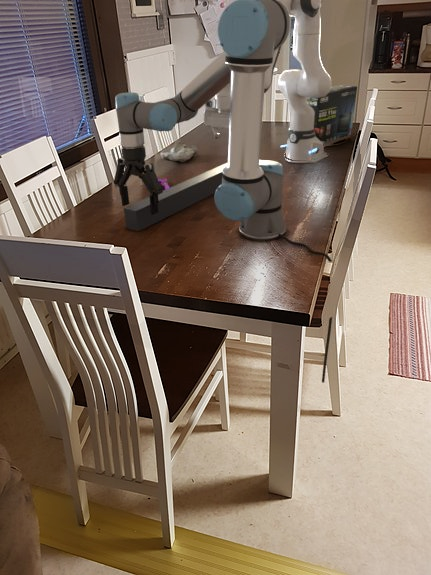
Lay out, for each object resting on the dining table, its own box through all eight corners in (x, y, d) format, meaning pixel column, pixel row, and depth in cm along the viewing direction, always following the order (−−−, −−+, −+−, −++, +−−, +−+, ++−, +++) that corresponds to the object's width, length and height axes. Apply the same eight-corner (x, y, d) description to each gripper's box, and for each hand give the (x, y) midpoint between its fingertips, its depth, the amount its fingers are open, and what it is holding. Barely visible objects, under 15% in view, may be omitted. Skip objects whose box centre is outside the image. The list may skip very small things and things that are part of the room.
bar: (138, 231, 154) (135, 211, 150) (126, 227, 157) (123, 207, 153) (239, 180, 196) (239, 164, 192) (228, 178, 198) (228, 162, 195)
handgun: (149, 183, 197) (148, 178, 196) (167, 181, 198) (166, 176, 197) (152, 198, 180) (152, 194, 179) (172, 196, 181) (171, 191, 180)
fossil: (184, 156, 217) (163, 136, 220) (174, 174, 223) (154, 154, 227) (205, 153, 231) (186, 134, 234) (195, 171, 237) (176, 152, 240)
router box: (314, 151, 231) (318, 94, 217) (296, 148, 237) (299, 92, 224) (352, 138, 251) (358, 85, 238) (335, 135, 258) (340, 83, 245)
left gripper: (170, 148, 141) (175, 213, 152) (114, 138, 154) (122, 198, 165) (154, 154, 136) (159, 220, 147) (97, 143, 149) (106, 204, 160)
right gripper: (253, 104, 174) (252, 141, 181) (210, 100, 185) (211, 135, 192) (244, 106, 170) (243, 144, 177) (200, 102, 180) (201, 138, 187)
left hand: (140, 209), depth 156 cm, fingers open, 13 cm apart
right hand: (226, 139), depth 184 cm, fingers open, 8 cm apart
